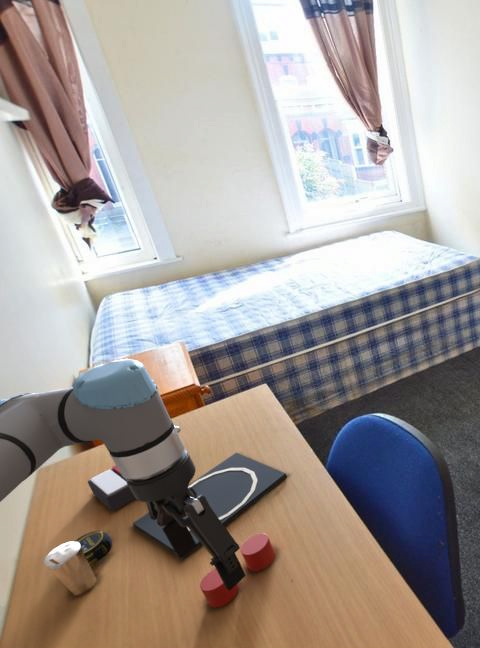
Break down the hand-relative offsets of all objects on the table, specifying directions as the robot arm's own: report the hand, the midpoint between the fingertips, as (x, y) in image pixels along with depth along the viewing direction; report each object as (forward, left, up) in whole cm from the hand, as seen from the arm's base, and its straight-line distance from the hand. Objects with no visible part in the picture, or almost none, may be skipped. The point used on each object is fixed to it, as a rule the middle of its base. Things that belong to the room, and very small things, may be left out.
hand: (211, 566), depth 75 cm
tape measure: (-7, +31, -7) cm, 33 cm away
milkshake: (-10, +25, -7) cm, 28 cm away
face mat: (+12, +23, -7) cm, 27 cm away
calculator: (+9, +46, -7) cm, 47 cm away
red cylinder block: (0, 0, -7) cm, 7 cm away
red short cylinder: (+7, 0, -7) cm, 10 cm away
